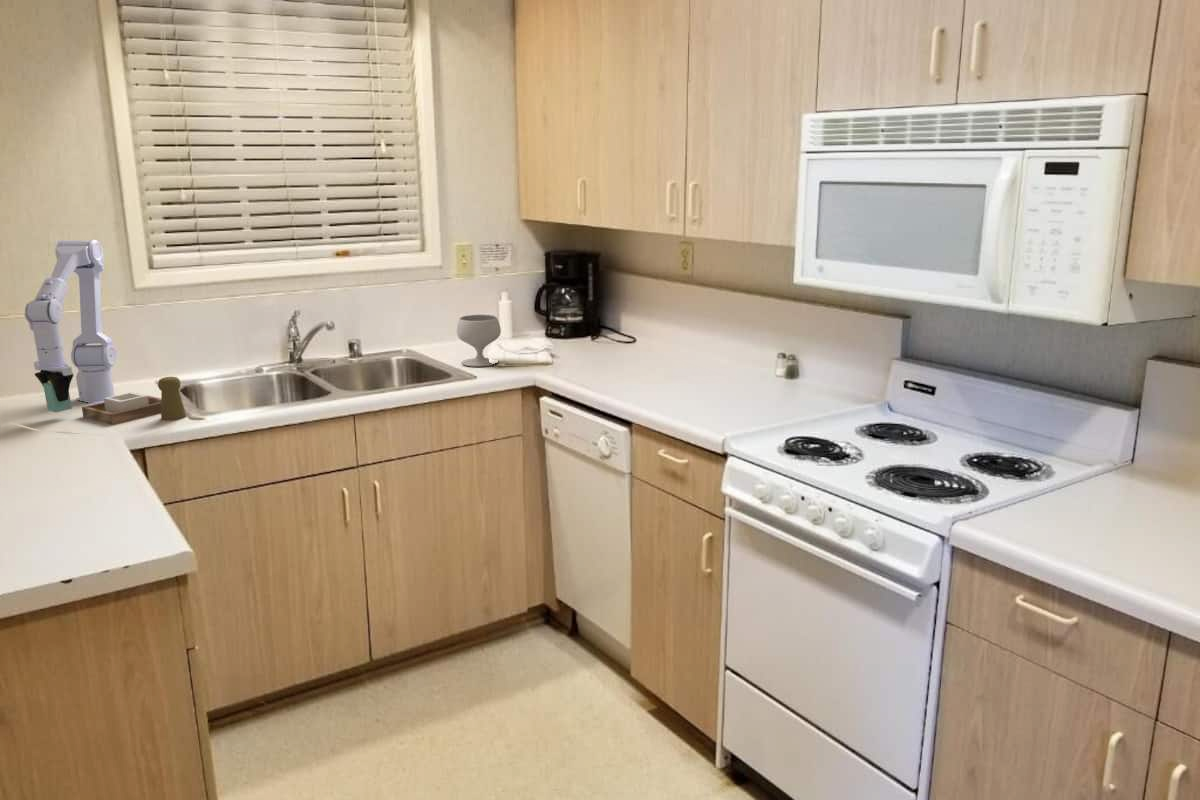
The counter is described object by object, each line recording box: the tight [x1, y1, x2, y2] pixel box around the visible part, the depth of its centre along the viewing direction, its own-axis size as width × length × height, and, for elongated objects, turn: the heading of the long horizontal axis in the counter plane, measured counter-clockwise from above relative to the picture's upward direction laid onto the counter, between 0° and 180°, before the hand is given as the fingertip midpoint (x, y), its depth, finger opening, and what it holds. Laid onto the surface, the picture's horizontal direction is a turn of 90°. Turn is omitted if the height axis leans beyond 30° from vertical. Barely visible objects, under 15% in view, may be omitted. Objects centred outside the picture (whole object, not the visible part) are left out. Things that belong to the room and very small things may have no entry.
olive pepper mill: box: [157, 376, 187, 422], centre depth 236 cm, size 6×6×11 cm
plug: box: [42, 381, 72, 413], centre depth 236 cm, size 4×4×8 cm
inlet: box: [104, 391, 149, 413], centre depth 241 cm, size 8×8×4 cm
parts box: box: [81, 394, 161, 426], centre depth 242 cm, size 14×16×3 cm
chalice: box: [456, 314, 502, 368], centre depth 296 cm, size 14×14×15 cm
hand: (58, 399), depth 236 cm, fingers closed on plug, 4 cm apart
